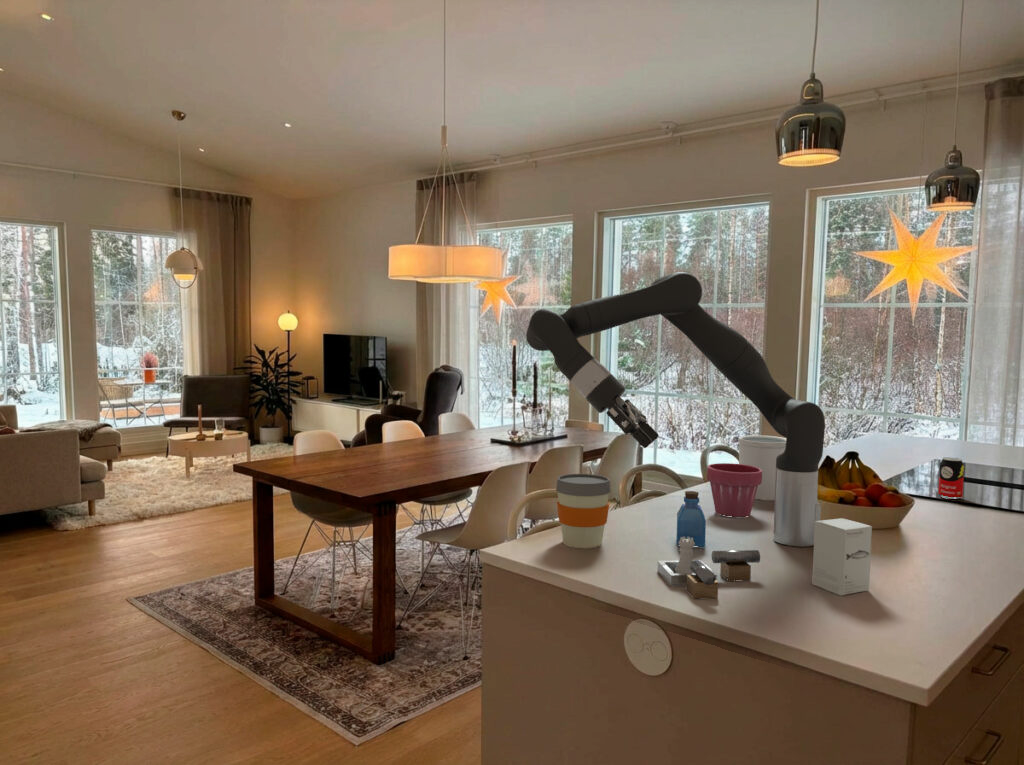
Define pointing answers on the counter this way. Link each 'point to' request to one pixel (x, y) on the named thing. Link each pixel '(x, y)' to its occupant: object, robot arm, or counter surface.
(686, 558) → the rook chess piece
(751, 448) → the utensil holder
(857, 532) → the supplement box
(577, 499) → the reusable coffee cup
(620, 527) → the counter surface
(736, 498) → the plant pot
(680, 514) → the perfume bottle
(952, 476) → the beverage can
